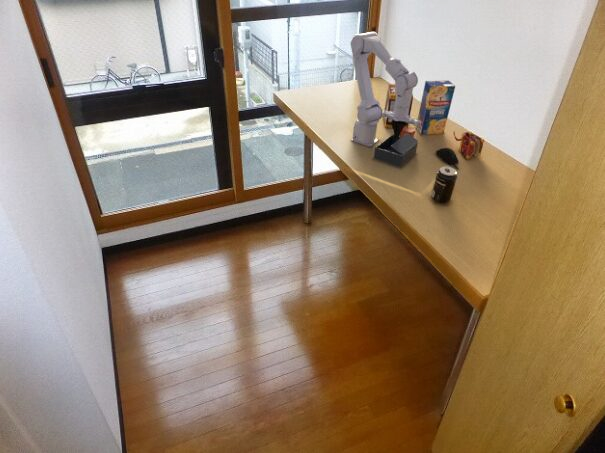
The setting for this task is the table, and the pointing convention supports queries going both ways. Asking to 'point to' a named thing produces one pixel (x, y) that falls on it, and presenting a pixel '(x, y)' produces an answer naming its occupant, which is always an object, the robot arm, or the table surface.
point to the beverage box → (435, 107)
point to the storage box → (393, 152)
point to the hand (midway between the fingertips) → (396, 137)
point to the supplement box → (392, 104)
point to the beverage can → (444, 185)
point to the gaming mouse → (447, 156)
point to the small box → (407, 131)
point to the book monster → (470, 144)
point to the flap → (404, 143)
